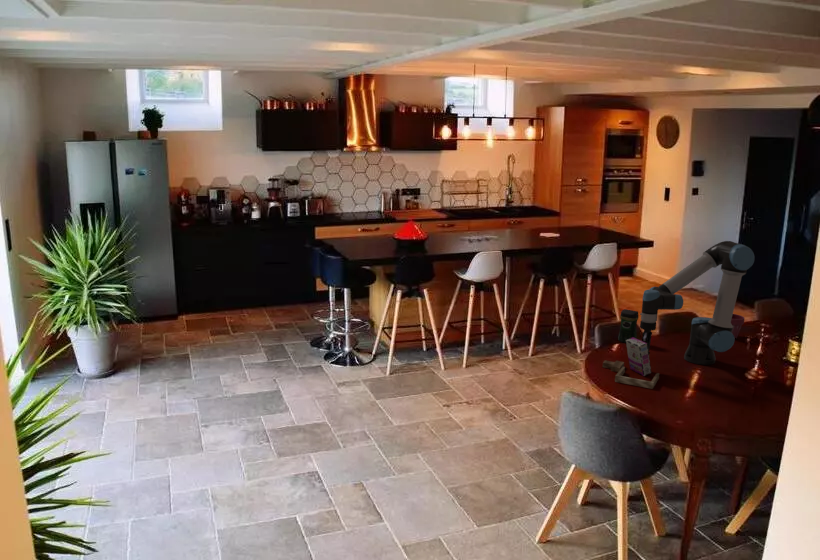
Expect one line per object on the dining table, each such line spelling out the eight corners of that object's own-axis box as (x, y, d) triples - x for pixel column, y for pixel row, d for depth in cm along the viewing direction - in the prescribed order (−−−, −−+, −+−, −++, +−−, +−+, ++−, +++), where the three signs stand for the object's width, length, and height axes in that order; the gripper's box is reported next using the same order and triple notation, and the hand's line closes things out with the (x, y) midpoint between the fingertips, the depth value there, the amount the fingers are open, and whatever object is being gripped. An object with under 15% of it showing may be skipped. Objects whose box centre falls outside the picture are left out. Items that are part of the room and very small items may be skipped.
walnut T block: (623, 366, 350) (624, 362, 349) (619, 372, 341) (619, 367, 341) (605, 363, 354) (606, 358, 353) (600, 368, 345) (601, 364, 345)
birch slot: (658, 379, 333) (659, 373, 332) (652, 388, 320) (653, 382, 319) (622, 372, 341) (622, 366, 341) (614, 381, 328) (615, 375, 328)
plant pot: (738, 334, 409) (741, 313, 406) (744, 341, 396) (747, 320, 393) (713, 332, 412) (715, 311, 409) (717, 339, 399) (720, 318, 396)
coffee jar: (638, 341, 391) (641, 310, 387) (633, 345, 385) (636, 313, 381) (621, 338, 397) (624, 307, 393) (616, 341, 391) (619, 310, 387)
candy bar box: (652, 373, 337) (647, 343, 332) (644, 376, 336) (639, 346, 331) (637, 365, 347) (633, 336, 342) (629, 369, 346) (624, 340, 341)
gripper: (643, 316, 347) (639, 361, 352) (637, 322, 336) (633, 368, 341) (659, 319, 343) (654, 363, 348) (653, 325, 332) (648, 371, 337)
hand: (643, 366), depth 345 cm, fingers closed
